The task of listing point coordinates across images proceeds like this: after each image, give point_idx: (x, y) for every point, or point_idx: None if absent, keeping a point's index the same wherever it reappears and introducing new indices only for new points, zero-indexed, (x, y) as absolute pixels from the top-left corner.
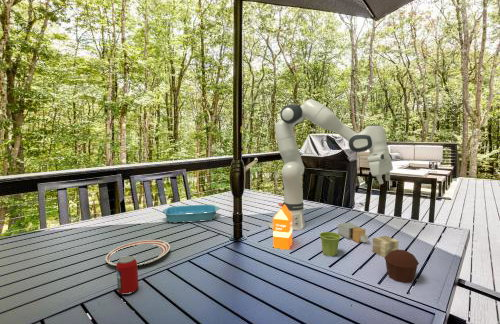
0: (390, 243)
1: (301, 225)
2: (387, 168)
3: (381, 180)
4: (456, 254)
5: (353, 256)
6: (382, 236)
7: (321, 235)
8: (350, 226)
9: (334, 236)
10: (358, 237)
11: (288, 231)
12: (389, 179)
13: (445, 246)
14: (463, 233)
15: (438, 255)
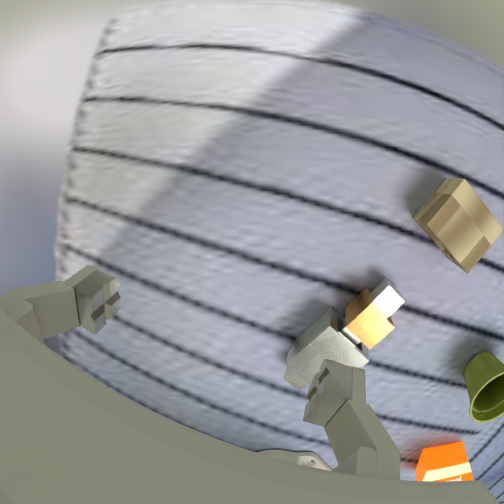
0: (488, 210)
1: (301, 461)
2: (27, 413)
3: (368, 409)
4: (351, 13)
5: (489, 309)
6: (439, 237)
7: (480, 416)
8: (340, 358)
9: (476, 387)
10: (389, 316)
11: (471, 474)
12: (100, 274)
13: (292, 30)
14: (145, 7)
15: (391, 58)
